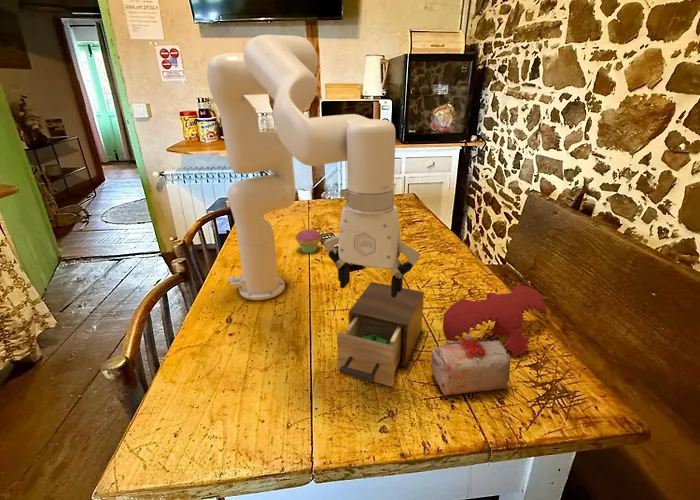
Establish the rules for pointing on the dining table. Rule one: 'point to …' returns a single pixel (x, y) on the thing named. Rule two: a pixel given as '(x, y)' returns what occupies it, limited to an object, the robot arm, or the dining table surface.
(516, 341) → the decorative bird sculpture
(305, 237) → the cupcake
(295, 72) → the robot arm
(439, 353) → the food item
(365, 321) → the drawer
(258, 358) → the dining table surface
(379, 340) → the pepper
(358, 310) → the cabinet
